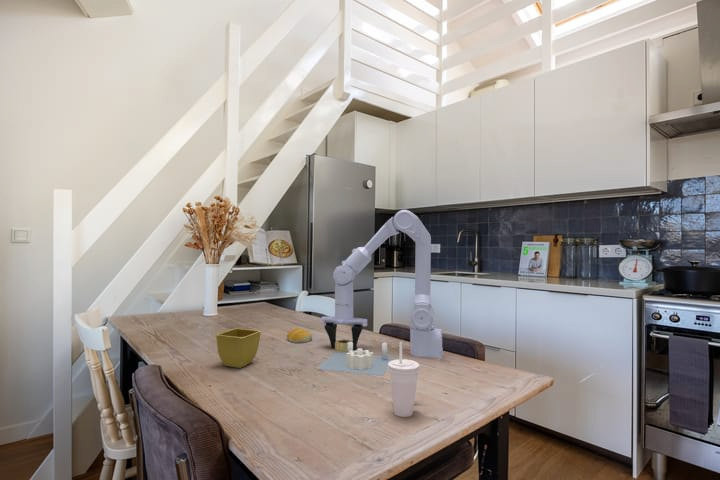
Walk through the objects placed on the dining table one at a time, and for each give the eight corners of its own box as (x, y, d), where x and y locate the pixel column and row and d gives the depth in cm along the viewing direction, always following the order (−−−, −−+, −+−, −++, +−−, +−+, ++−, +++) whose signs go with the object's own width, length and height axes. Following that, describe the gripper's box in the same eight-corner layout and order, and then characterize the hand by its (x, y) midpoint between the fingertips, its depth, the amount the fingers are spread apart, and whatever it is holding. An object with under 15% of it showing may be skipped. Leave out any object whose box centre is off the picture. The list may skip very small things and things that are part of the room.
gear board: (395, 361, 107) (395, 341, 107) (382, 380, 92) (382, 357, 92) (336, 355, 112) (336, 336, 113) (315, 373, 97) (315, 351, 97)
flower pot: (261, 362, 106) (261, 330, 107) (242, 371, 98) (242, 337, 98) (235, 358, 109) (235, 328, 109) (214, 368, 101) (215, 334, 101)
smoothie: (385, 406, 77) (385, 338, 78) (415, 405, 78) (415, 337, 78) (390, 420, 71) (390, 346, 71) (423, 419, 71) (423, 346, 72)
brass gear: (355, 350, 118) (355, 340, 118) (349, 355, 113) (349, 344, 113) (338, 349, 119) (338, 338, 119) (332, 354, 114) (332, 343, 114)
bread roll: (296, 345, 125) (296, 333, 125) (283, 340, 132) (283, 328, 132) (317, 341, 131) (317, 329, 131) (303, 336, 137) (303, 325, 138)
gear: (375, 363, 102) (375, 350, 102) (368, 371, 95) (368, 357, 95) (351, 360, 104) (351, 348, 104) (343, 368, 97) (343, 355, 97)
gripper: (317, 304, 114) (317, 349, 114) (362, 307, 110) (362, 353, 110) (326, 301, 121) (325, 343, 121) (369, 303, 117) (369, 347, 117)
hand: (343, 348), depth 116 cm, fingers open, 6 cm apart
